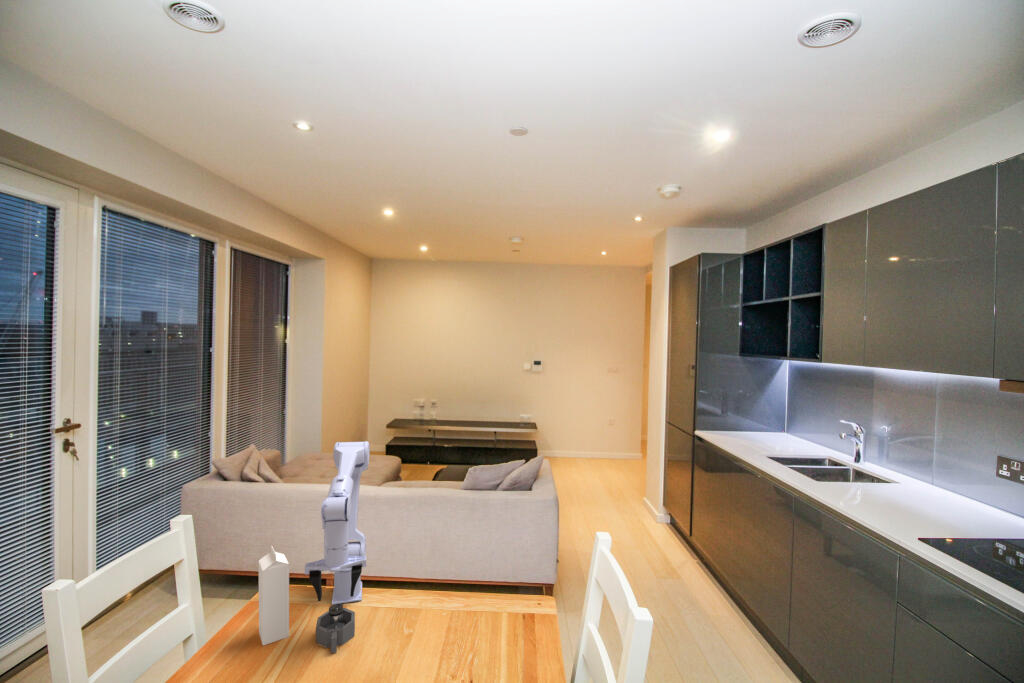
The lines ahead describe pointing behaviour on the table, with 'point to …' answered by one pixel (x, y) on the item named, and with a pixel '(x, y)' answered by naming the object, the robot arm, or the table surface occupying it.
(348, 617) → the grey jug
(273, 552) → the milk
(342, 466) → the robot arm
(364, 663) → the table surface
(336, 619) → the plunger
